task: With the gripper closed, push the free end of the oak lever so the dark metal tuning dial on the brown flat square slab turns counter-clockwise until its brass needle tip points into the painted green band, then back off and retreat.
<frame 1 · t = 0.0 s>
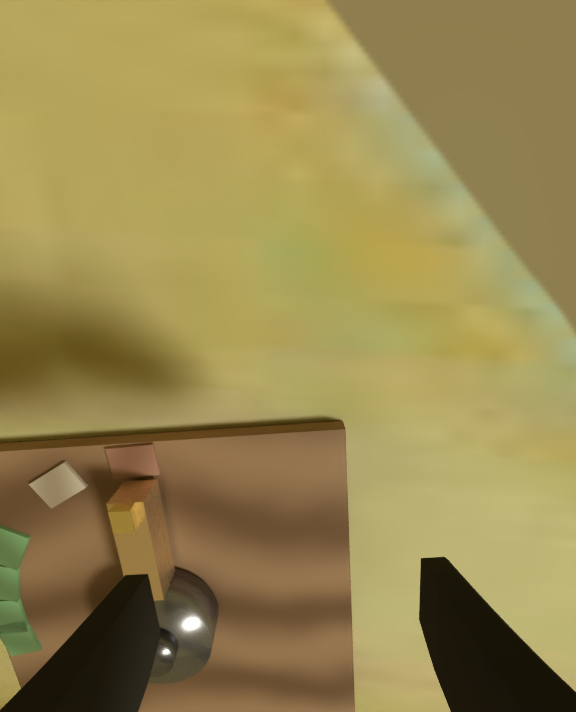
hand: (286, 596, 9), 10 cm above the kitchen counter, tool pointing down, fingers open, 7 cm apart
brown flat square slab: (175, 590, 22), on the kitchen counter
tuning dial: (151, 590, 18), point 3 cm above the kitchen counter, hinge at 0.0°
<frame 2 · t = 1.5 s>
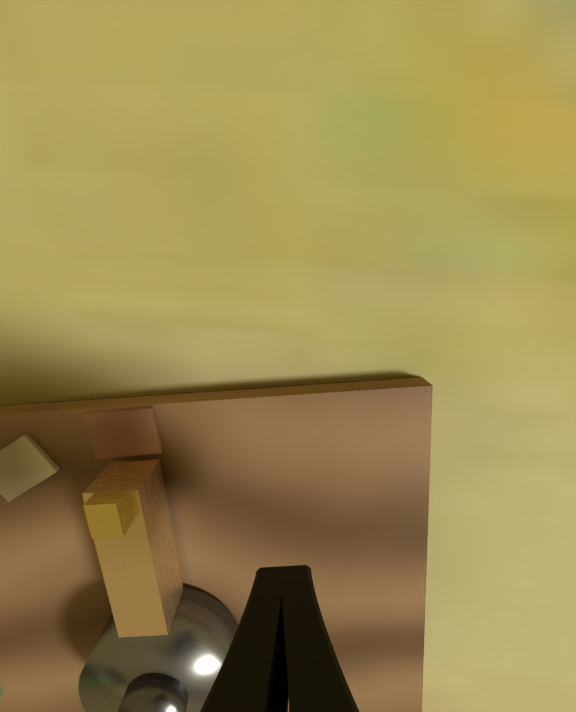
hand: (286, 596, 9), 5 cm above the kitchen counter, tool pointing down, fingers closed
brown flat square slab: (182, 613, 16), on the kitchen counter
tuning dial: (150, 619, 13), point 3 cm above the kitchen counter, hinge at 0.0°
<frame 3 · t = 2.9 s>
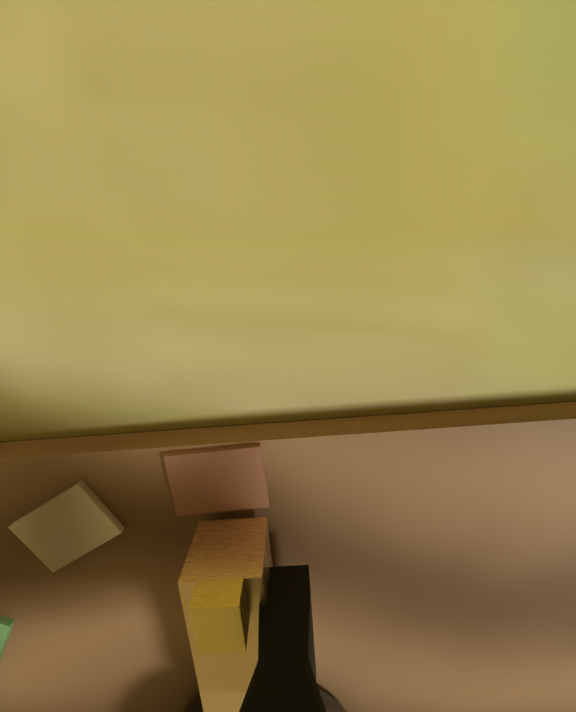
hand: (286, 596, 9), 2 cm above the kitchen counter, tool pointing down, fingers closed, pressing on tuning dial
brown flat square slab: (268, 697, 13), on the kitchen counter
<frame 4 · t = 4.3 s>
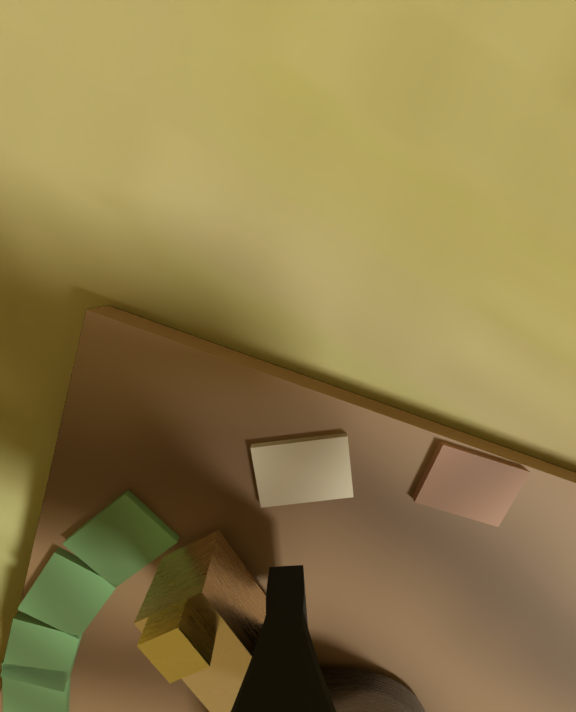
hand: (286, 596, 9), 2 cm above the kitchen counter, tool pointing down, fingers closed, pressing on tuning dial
brown flat square slab: (334, 691, 12), on the kitchen counter
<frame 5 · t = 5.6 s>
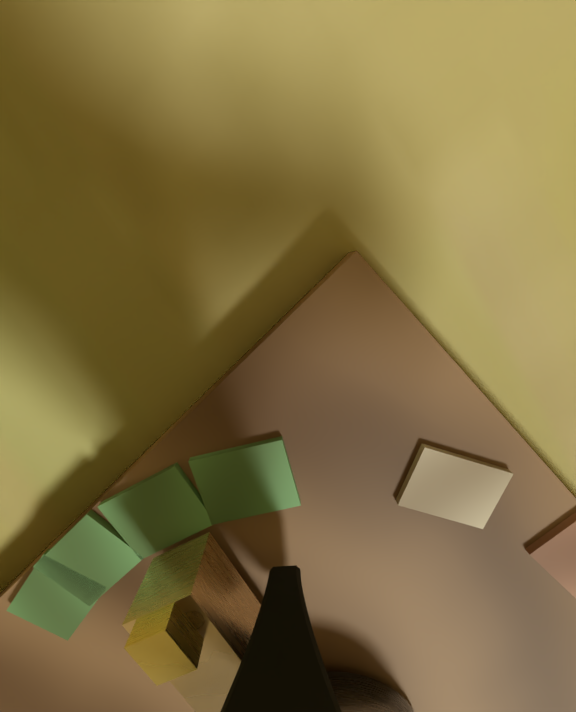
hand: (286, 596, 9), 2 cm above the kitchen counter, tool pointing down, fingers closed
brown flat square slab: (324, 693, 12), on the kitchen counter
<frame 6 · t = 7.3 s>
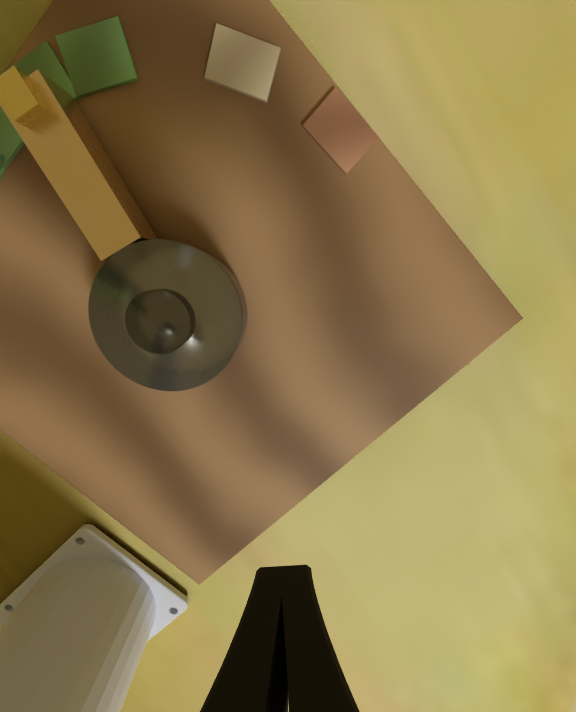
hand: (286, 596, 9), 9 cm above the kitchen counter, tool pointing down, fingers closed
brown flat square slab: (188, 309, 16), on the kitchen counter
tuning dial: (128, 250, 13), point 3 cm above the kitchen counter, hinge at 74.2°
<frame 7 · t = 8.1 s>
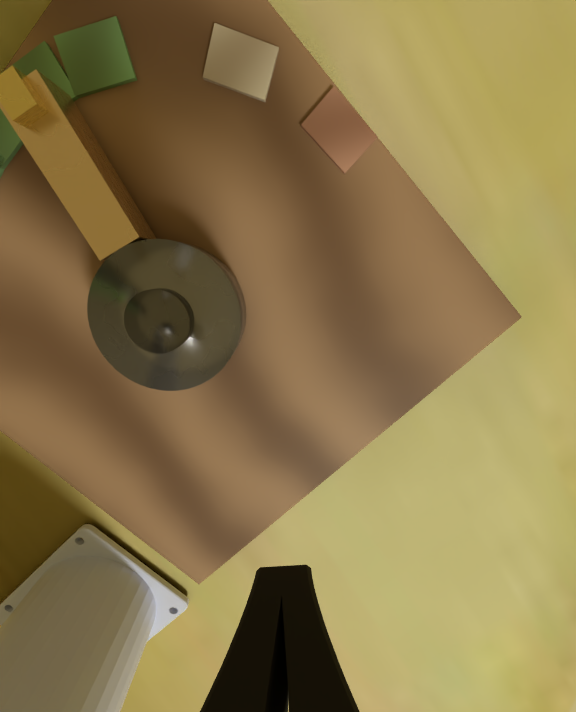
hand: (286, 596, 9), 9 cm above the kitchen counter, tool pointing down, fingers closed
brown flat square slab: (187, 309, 16), on the kitchen counter
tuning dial: (126, 249, 13), point 3 cm above the kitchen counter, hinge at 74.2°
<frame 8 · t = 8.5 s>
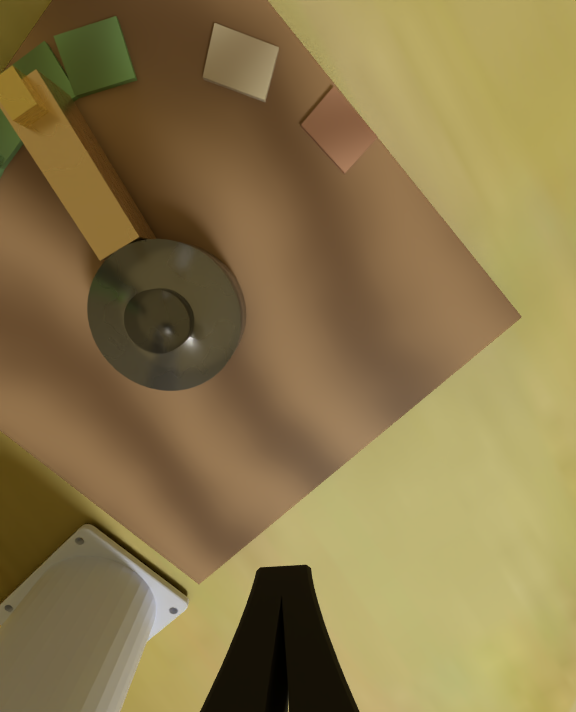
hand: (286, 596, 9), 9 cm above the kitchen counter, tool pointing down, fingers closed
brown flat square slab: (187, 309, 16), on the kitchen counter
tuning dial: (126, 249, 13), point 3 cm above the kitchen counter, hinge at 74.2°
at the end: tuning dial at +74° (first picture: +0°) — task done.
